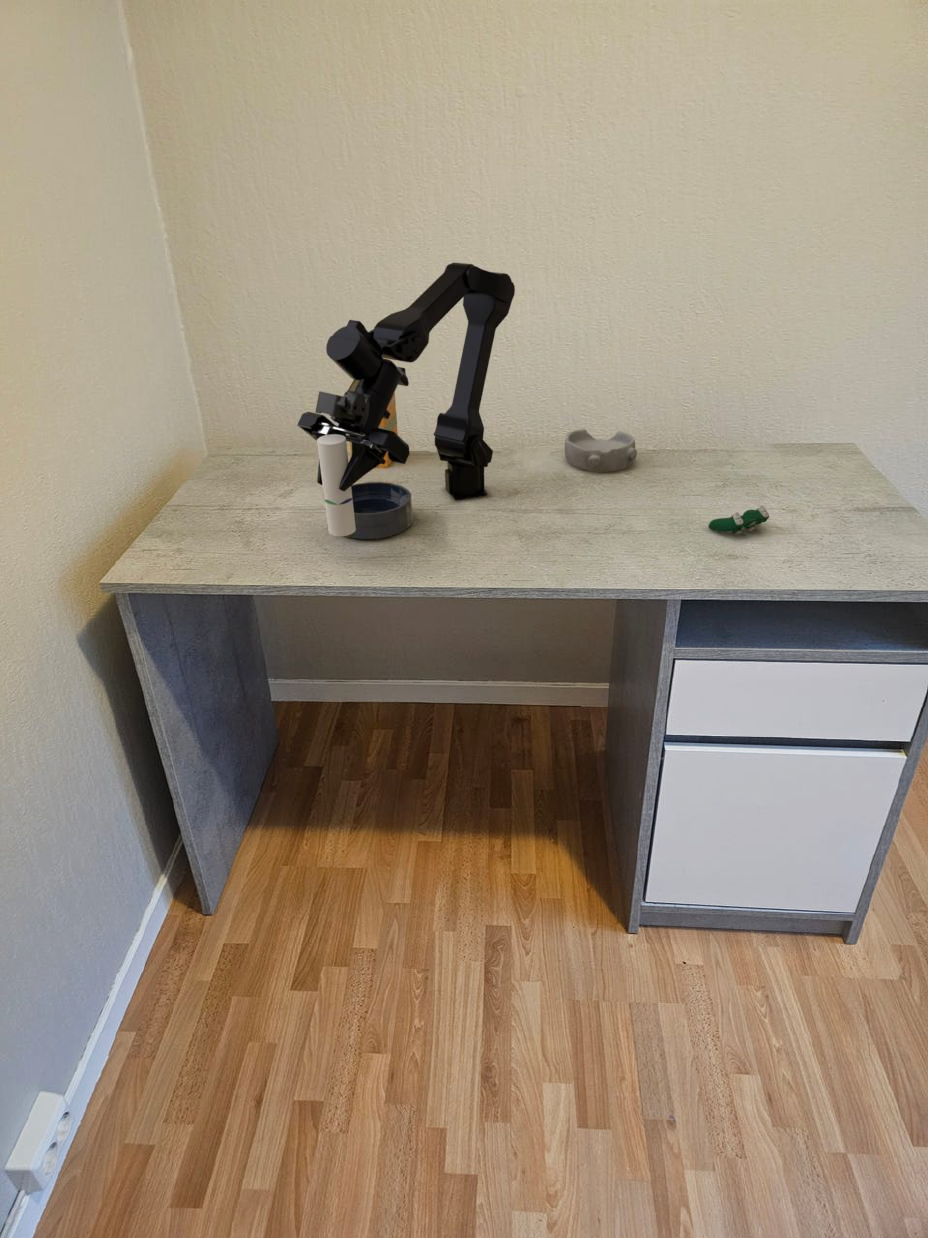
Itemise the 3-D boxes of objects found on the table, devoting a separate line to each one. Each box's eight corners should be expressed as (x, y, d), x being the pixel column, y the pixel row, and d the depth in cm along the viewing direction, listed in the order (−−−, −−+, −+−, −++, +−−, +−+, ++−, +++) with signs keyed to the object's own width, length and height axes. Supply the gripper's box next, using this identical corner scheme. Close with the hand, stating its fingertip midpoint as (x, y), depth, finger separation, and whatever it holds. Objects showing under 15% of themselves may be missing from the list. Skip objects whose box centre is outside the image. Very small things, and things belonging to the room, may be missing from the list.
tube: (329, 525, 134) (318, 435, 126) (356, 523, 134) (346, 433, 126) (327, 537, 130) (315, 445, 122) (355, 535, 130) (345, 443, 122)
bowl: (401, 502, 154) (399, 477, 152) (421, 533, 143) (420, 506, 140) (326, 514, 151) (323, 488, 148) (341, 547, 139) (338, 519, 137)
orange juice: (399, 451, 177) (393, 356, 166) (387, 467, 170) (380, 367, 159) (364, 450, 178) (355, 354, 168) (351, 465, 171) (341, 366, 161)
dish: (558, 451, 175) (559, 428, 172) (622, 447, 176) (624, 424, 173) (573, 477, 162) (574, 453, 160) (642, 473, 164) (645, 448, 161)
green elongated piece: (713, 544, 141) (735, 531, 135) (705, 523, 141) (726, 509, 136) (754, 532, 144) (777, 518, 139) (746, 512, 145) (768, 498, 139)
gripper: (297, 359, 127) (254, 451, 125) (391, 377, 117) (345, 476, 115) (339, 396, 136) (299, 482, 134) (429, 416, 126) (387, 508, 125)
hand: (330, 486), depth 127 cm, fingers closed on tube, 4 cm apart
